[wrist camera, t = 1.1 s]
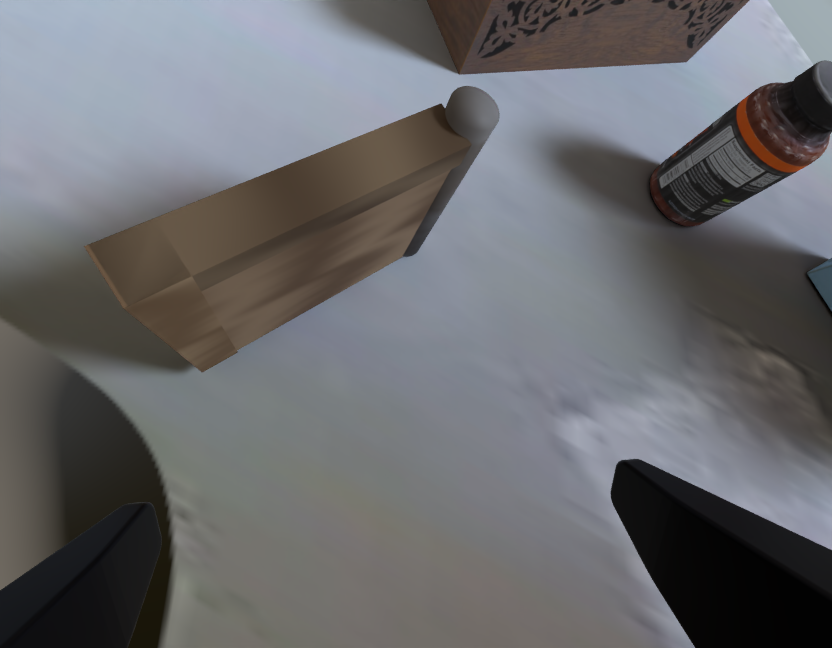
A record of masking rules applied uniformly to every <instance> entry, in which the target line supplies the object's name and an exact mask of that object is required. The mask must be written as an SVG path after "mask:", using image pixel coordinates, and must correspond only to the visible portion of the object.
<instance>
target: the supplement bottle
mask: <svg viewBox="0 0 832 648" xmlns="http://www.w3.org/2000/svg"><path fill="white" fill-rule="evenodd" d="M831 132H832V62H831V61H820V62H818V63H816V64H815V65H813V66H812V67H811V68H809V69H808V70H806V71H805V72H803V73H802V74H800V75H798V76H797V77H796V78H795V79H794V81H792V82H788V83H770V84H767V85H764V86H762V87H760V88H758V89H756V90H755V91H754V92H752V93H751V94H750V95H748V96H747V97H746V98H745V99H743V100H742V101H741V102H740V103H738V104H737V105H735V106H734V107H733V108H732V109H730V110H729V111H728V112H726V113H725V114H724V115H723V116H721V117H720V118H719V119H717V120H716V121H715V122H714V123H712V124H711V125H710V126H709V127H708V128H706V129H705V130H704V131H703V132H701V133H700V134H698V135H697V136H696V137H695V138H694V139H692V140H691V141H690V142H688V143H687V144H686V145H685V146H683V147H682V148H681V149H680V150H678V151H677V152H676V153H674V154H673V155H671V156H670V157H669V158H668V159H666V160H665V161H664V162H663V163H662V164H661V165H660V166H658V167H657V168H656V169H655V171H654V172H653V174H652V176H651V178H650V189H651V195H652V197H653V200H654V202H655V204H656V205H657V207H658V208H659V210H660V211H661V212H662V213H663V214H664V215H665V216H666V217H667V218H668V219H669V220H672V221H673V222H675V223H677V224H680V225H683V226H697V225H700V224H702V223H704V222H706V221H708V220H710V219H712V218H714V217H715V216H717V215H719V214H721V213H723V212H725V211H726V210H728V209H730V208H732V207H734V206H736V205H737V204H739V203H741V202H743V201H744V200H746V199H748V198H750V197H752V196H753V195H755V194H757V193H759V192H761V191H763V190H764V189H766V188H768V187H770V186H772V185H773V184H775V183H777V182H779V181H781V180H782V179H784V178H786V177H788V176H790V175H792V174H793V173H795V172H797V171H798V170H800V169H802V168H804V167H806V166H808V165H809V164H811V163H812V162H814V161H815V160H816V159H818V158H819V157H820V156H821V155H822V154H823V153H824V152H825V150H826V148H827V146H828V143H829V138H830V134H831Z"/></svg>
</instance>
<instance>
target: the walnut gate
mask: <svg viewBox="0 0 832 648" xmlns="http://www.w3.org/2000/svg"><path fill="white" fill-rule="evenodd" d="M498 121H499V109H498V106H497V104H496V103H495V101H494V100H493V99H492V97H491V96H490V95H488V94H487V93H486V92H484V91H483V90H481V89H478V88H476V87H471V86H463V87H459V88H457V89H456V90H455V91H454V92H453V93H452V95H451V97H450V99H449V101H448V104H447V106H446V108H444V107H443V105H442V104H438V105H436V106H433V107H431V108H428V109H426V110H423V111H421V112H418V113H416V114H413V115H411V116H408V117H406V118H404V119H401V120H399V121H396V122H394V123H391V124H389V125H386V126H384V127H381V128H379V129H376V130H374V131H371V132H369V133H366V134H364V135H361V136H359V137H356V138H354V139H351V140H349V141H346V142H344V143H341V144H339V145H336V146H334V147H331V148H329V149H326V150H324V151H321V152H319V153H316V154H314V155H311V156H309V157H306V158H304V159H301V160H299V161H296V162H294V163H291V164H289V165H286V166H284V167H281V168H279V169H276V170H274V171H271V172H269V173H266V174H264V175H261V176H259V177H256V178H254V179H251V180H249V181H246V182H244V183H241V184H239V185H236V186H234V187H231V188H229V189H226V190H224V191H221V192H219V193H216V194H214V195H211V196H209V197H206V198H204V199H201V200H199V201H196V202H194V203H191V204H189V205H186V206H184V207H181V208H179V209H176V210H174V211H171V212H169V213H166V214H164V215H161V216H159V217H156V218H154V219H151V220H149V221H146V222H144V223H141V224H139V225H136V226H134V227H131V228H129V229H126V230H124V231H121V232H119V233H116V234H114V235H111V236H109V237H106V238H104V239H101V240H99V241H96V242H94V243H91V244H89V245H86V246H84V247H85V249H86V250H87V252H88V254H89V255H90V257H91V258H92V260H93V261H94V263H95V264H96V266H97V268H98V269H99V271H100V272H101V274H102V275H103V277H104V279H105V280H106V282H107V283H108V285H109V286H110V288H111V290H112V291H113V293H114V294H115V296H116V297H117V299H118V301H119V302H120V304H121V305H122V307H123V308H124V309H125V310H126V311H127V312H129V313H130V314H131V315H132V316H133V317H135V318H136V319H137V320H138V321H140V322H141V323H142V324H143V325H145V326H146V327H147V328H148V329H149V330H151V331H152V332H153V333H154V334H156V335H157V336H158V337H159V338H161V339H162V340H163V341H164V342H165V343H167V344H168V345H169V346H170V347H172V348H173V349H174V350H175V351H177V352H178V353H179V354H180V355H181V356H183V357H184V358H185V359H186V360H188V361H189V362H190V363H191V364H193V365H194V366H195V367H196V368H198V369H199V370H200V371H201V372H204V371H206V370H207V369H209V368H211V367H213V366H214V365H216V364H218V363H220V362H222V361H223V360H225V359H227V358H229V357H230V356H232V355H234V354H236V353H237V350H239V349H240V348H242V347H244V346H246V345H247V344H249V343H251V342H253V341H255V340H256V339H258V338H260V337H262V336H263V335H265V334H267V333H269V332H270V331H272V330H274V329H276V328H278V327H279V326H281V325H283V324H285V323H286V322H288V321H290V320H292V319H293V318H295V317H297V316H299V315H301V314H302V313H304V312H306V311H308V310H309V309H311V308H313V307H315V306H316V305H318V304H320V303H322V302H324V301H325V300H327V299H329V298H331V297H332V296H334V295H336V294H338V293H339V292H341V291H343V290H345V289H347V288H348V287H350V286H352V285H354V284H355V283H357V282H359V281H361V280H362V279H364V278H366V277H368V276H370V275H371V274H373V273H375V272H377V271H378V270H380V269H382V268H384V267H385V266H387V265H389V264H391V263H393V262H394V261H396V260H398V259H400V258H401V257H402V256H404V257H408V256H412V255H414V254H416V253H417V251H418V250H419V248H420V247H421V245H422V244H423V242H424V240H425V239H426V237H427V235H428V234H429V232H430V231H431V229H432V227H433V226H434V224H435V223H436V221H437V219H438V218H439V216H440V215H441V213H442V211H443V210H444V208H445V207H446V205H447V203H448V202H449V200H450V199H451V197H452V195H453V194H454V192H455V191H456V189H457V187H458V186H459V184H460V182H461V181H462V179H463V178H464V176H465V174H466V173H467V171H468V170H469V168H470V166H471V165H472V163H473V162H474V160H475V158H476V157H477V155H478V154H479V152H480V150H481V149H482V147H483V146H484V144H485V142H486V141H487V139H488V138H489V136H490V134H491V133H492V131H493V129H494V128H495V126H496V125H497V123H498Z"/></svg>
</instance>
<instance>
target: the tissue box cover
mask: <svg viewBox="0 0 832 648" xmlns="http://www.w3.org/2000/svg"><path fill="white" fill-rule="evenodd" d="M748 1H749V0H427V2H428V4H429V6H430V8H431V11H432V13H433V15H434V18H435V20H436V22H437V25H438V27H439V29H440V31H441V34H442V36H443V38H444V41H445V43H446V45H447V48H448V50H449V52H450V54H451V57H452V59H453V61H454V64H455V66H456V68H457V70H458V73H459V75H460V74H478V73H497V72H515V71H533V70H552V69H570V68H588V67H607V66H625V65H643V64H662V63H680V62H687V61H688V60H689V59H690V58H691V57H692V56H693V55H694V54H695V53H696V52H697V51H698V50H699V49H700V48H701V47H702V46H703V45H705V44H706V43H707V42H708V41H709V40H710V39H711V38H712V37H713V36H714V35H715V34H716V33H717V32H718V31H719V30H720V29H721V28H722V27H723V26H724V25H725V24H726V23H727V22H728V21H729V20H730V19H731V18H732V17H733V16H734V15H735V14H736V13H737V12H738V11H739V10H740V9H741V8H742V7H743V6H744V5H745V4H746V3H747V2H748Z"/></svg>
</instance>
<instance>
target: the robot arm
mask: <svg viewBox="0 0 832 648" xmlns="http://www.w3.org/2000/svg"><path fill="white" fill-rule="evenodd" d="M611 500H612V503H613V505H614V507H615V509H616V511H617V513H618V515H619V517H620V519H621V521H622V523H623V525H624V527H625V529H626V531H627V533H628V534H629V536H630V538H631V540H632V542H633V544H634V546H635V548H636V550H637V552H638V554H639V556H640V558H641V560H642V562H643V563H644V565H645V567H646V569H647V571H648V573H649V574H650V576H651V578H652V580H653V581H654V583H655V585H656V586H657V588H658V590H659V591H660V593H661V594H662V596H663V598H664V599H665V601H666V602H667V604H668V605H669V607H670V609H671V610H672V612H673V613H674V615H675V617H676V618H677V620H678V621H679V623H680V624H681V626H682V628H683V629H684V631H685V632H686V634H687V635H688V637H689V639H690V640H691V642H692V643H693V645H694V647H695V648H832V550H830V549H828V548H826V547H824V546H822V545H819V544H817V543H815V542H813V541H811V540H809V539H807V538H805V537H803V536H800V535H798V534H796V533H794V532H792V531H790V530H788V529H786V528H783V527H781V526H779V525H777V524H775V523H773V522H771V521H769V520H767V519H764V518H762V517H760V516H758V515H756V514H754V513H752V512H750V511H748V510H745V509H743V508H741V507H739V506H737V505H735V504H733V503H731V502H729V501H726V500H724V499H722V498H720V497H718V496H716V495H714V494H712V493H710V492H707V491H705V490H703V489H701V488H699V487H697V486H695V485H693V484H691V483H688V482H686V481H684V480H682V479H680V478H678V477H676V476H674V475H672V474H669V473H667V472H665V471H663V470H661V469H659V468H657V467H655V466H653V465H650V464H648V463H646V462H644V461H642V460H639V459H630V460H621V461H619V462H618V463H617V465H616V469H615V474H614V478H613V483H612V488H611ZM161 542H162V541H161V533H160V530H159V526H158V521H157V517H156V513H155V509H154V506H153V505H152V504H151V503H149V502H141V503H129V504H125V505H123V506H121V507H120V508H118V509H117V510H115V511H114V512H112V513H111V514H110V515H108V516H107V517H105V518H104V519H102V520H101V521H100V522H98V523H97V524H95V525H94V526H92V527H91V528H90V529H88V530H87V531H85V532H84V533H82V534H81V535H79V536H78V537H76V538H75V539H74V540H72V541H71V542H69V543H68V544H66V545H65V546H64V547H62V548H61V549H59V550H58V551H56V552H55V553H53V554H52V555H51V556H49V557H48V558H46V559H45V560H44V561H42V562H41V563H39V564H38V565H36V566H35V567H33V568H32V569H31V570H29V571H28V572H26V573H25V574H23V575H22V576H21V577H19V578H18V579H16V580H15V581H13V582H12V583H10V584H9V585H7V586H6V587H5V588H3V589H2V590H0V648H128V645H129V642H130V640H131V637H132V634H133V631H134V628H135V625H136V622H137V619H138V616H139V613H140V610H141V607H142V604H143V601H144V598H145V595H146V592H147V589H148V586H149V583H150V580H151V577H152V574H153V571H154V568H155V565H156V562H157V559H158V556H159V553H160V549H161Z"/></svg>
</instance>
